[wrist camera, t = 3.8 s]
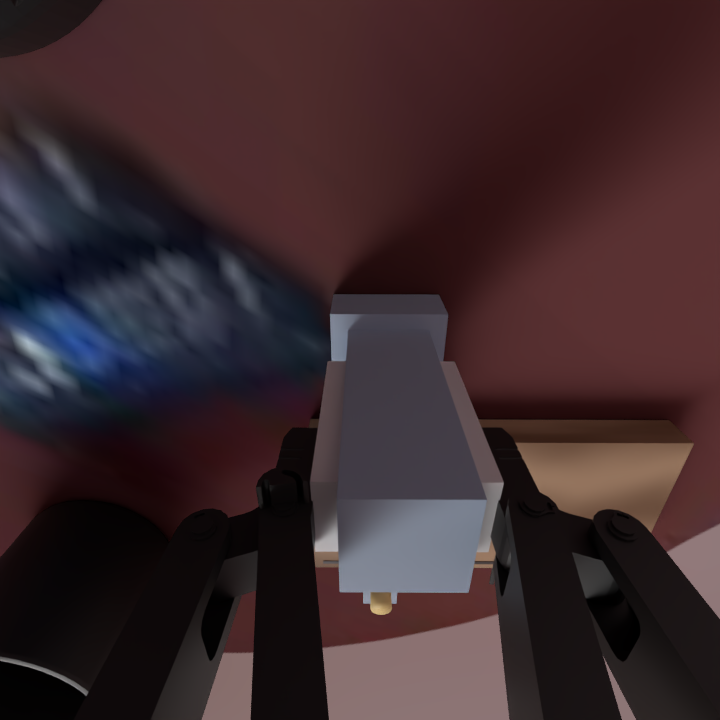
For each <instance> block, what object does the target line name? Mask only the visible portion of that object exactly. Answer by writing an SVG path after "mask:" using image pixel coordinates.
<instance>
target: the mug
mask: <svg viewBox="0 0 720 720" xmlns="http://www.w3.org/2000/svg"><path fill="white" fill-rule="evenodd" d="M168 544H169V543H168V541H167V540H166V538H165V537H164V536H163V534H162V533H161V532H160V531H159V530H158V529H157V528H156V527H155V526H154V525H152V524H151V523H150V522H148V521H147V520H146V519H144V518H142V517H141V516H139V515H137V514H135V513H133V512H131V511H129V510H126V509H124V508H121V507H118V506H115V505H111V504H107V503H102V502H95V501H70V502H65V503H60V504H57V505H55V506H52V507H50V508H48V509H46V510H44V511H43V512H41V513H40V514H38V515H37V516H36V517H35V518H34V519H33V520H32V521H31V522H30V523H29V525H28V526H27V527H26V528H25V529H24V530H23V532H22V533H21V534H20V535H19V536H18V537H17V539H16V540H15V541H14V542H13V543H12V544H11V546H10V547H9V548H8V549H7V550H6V552H5V553H4V554H3V555H2V556H1V557H0V720H74V718H75V716H76V714H77V712H78V710H79V709H80V707H81V705H82V703H83V701H84V699H85V698H86V696H87V694H88V692H89V690H90V688H91V686H92V685H93V683H94V681H95V679H96V677H97V675H98V674H99V672H100V670H101V668H102V666H103V664H104V662H105V661H106V659H107V657H108V655H109V653H110V651H111V649H112V648H113V646H114V644H115V642H116V640H117V638H118V637H119V635H120V633H121V631H122V629H123V627H124V625H125V624H126V622H127V620H128V618H129V616H130V614H131V613H132V611H133V609H134V607H135V605H136V603H137V601H138V600H139V598H140V596H141V594H142V592H143V590H144V589H145V587H146V585H147V583H148V581H149V579H150V577H151V576H152V574H153V572H154V570H155V568H156V566H157V565H158V563H159V561H160V559H161V557H162V555H163V553H164V552H165V550H166V548H167V546H168Z"/></svg>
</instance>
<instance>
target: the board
mask: <svg viewBox="0 0 720 720" xmlns="http://www.w3.org/2000/svg"><path fill="white" fill-rule="evenodd" d="M478 420H479V423H480V425H481V427H502V428H503V429H504V430H505V431H506V432H507V433H508V434H510V435H511V436H512V437H513V439H514V441H515V443H516V445H517V447H518V450H519V451H520V453H521V455H522V459H524V461H525V463H526V465H527V467H528V469H529V472H530V474H531V476H532V478H533V480H534V482H535V484H536V486H537V488H538V490H539V492H540V493H542V494H544V495H546V496H548V497H549V498H550V499H551V500H553V501H554V502H555V503H556V505H557V507H558V509H559V510H561V511H564V512H566V513H569V514H573V515H577V516H581V517H585V518H589V519H593V517H594V515H595V514H596V513H597V512H598V511H601V510H605V509H613V510H619V511H622V512H624V513H627V514H629V515H631V516H633V517H634V518H636V519H638V520H639V521H640V522H641V523H642V524H643V525H644V526H645V527H646V528H647V529H648V530H649V531H650V532H651V531H652V529H653V527H654V525H655V523H656V521H657V519H658V517H659V515H660V513H661V511H662V509H663V507H664V505H665V502H666V500H667V498H668V496H669V494H670V492H671V490H672V488H673V486H674V484H675V482H676V480H677V478H678V476H679V474H680V471H681V469H682V467H683V465H684V463H685V461H686V459H687V457H688V455H689V453H690V451H691V449H692V447H693V445H694V443H693V442H692V441H691V440H690V439H689V438H688V437H687V436H686V435H684V434H683V433H682V432H681V431H680V430H679V429H678V428H677V427H676V426H675V425H674V424H673V423H672V422H671V421H669V420H485V419H478ZM318 424H319V419H310V424H309V428H318ZM314 552H315V546H314ZM495 555H496V552H495V549H494V546H493V543H492V540H491V543H490V548H489V552H477V553H476V558H475V563H474V567H473V568H492V567H493V563H494V559H495ZM315 566H316V567H339V555H338V552H315Z"/></svg>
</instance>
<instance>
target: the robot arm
mask: <svg viewBox="0 0 720 720" xmlns="http://www.w3.org/2000/svg"><path fill="white" fill-rule="evenodd" d="M101 1H102V0H0V58H2V57H9V56H16V55H20V54H24V53H28V52H32V51H34V50H37V49H40V48H43V47H45V46H47V45H49V44H51V43H53V42H55V41H57V40H59V39H60V38H62V37H63V36H65V35H67V34H68V33H70V32H71V31H72V30H73V29H75V28H76V27H77V26H78V25H80V24H81V23H82V22H83V21H84V20H85V19H86V18H87V17H88V16H89V15H90V14H91V13H92V12H93V10H94V9H95V8H96V7H97V6H98V4H99V3H100V2H101ZM440 364H441V367H442V370H443V372H444V375H445V378H446V381H447V384H448V387H449V390H450V393H451V396H452V399H453V402H454V405H455V407H456V410H457V413H458V416H459V419H460V422H461V425H462V428H463V431H464V434H465V437H466V440H467V442H468V445H469V448H470V451H471V454H472V457H473V460H474V463H475V466H476V469H477V472H478V475H479V477H480V480H481V483H482V486H483V489H484V492H485V495H486V498H487V503H486V508H485V513H484V518H483V523H482V528H481V533H480V538H479V543H478V548H477V552H489V548H490V543H491V540H492V543H493V546H494V549H495V552H496V555H495V559H494V563H493V567H492V572H491V576H490V583H489V584H494V580H495V587H496V596H497V606H498V615H499V625H500V634H501V643H502V653H503V662H504V672H505V681H506V690H507V701H508V710H509V719H510V720H622V719H621V716H620V712H619V709H618V705H617V702H616V699H615V695H614V692H613V688H612V685H611V682H610V678H609V675H608V672H607V668H606V665H605V661H604V658H605V660H606V662H607V664H608V666H609V668H610V670H611V672H612V674H613V676H614V678H615V679H616V681H617V683H618V685H619V687H620V689H621V691H622V693H623V695H624V697H625V699H626V701H627V703H628V704H629V706H630V708H631V710H632V712H633V714H634V716H635V718H636V720H720V619H719V618H718V616H717V615H716V614H715V613H714V611H713V610H712V609H711V608H710V607H709V605H708V604H707V603H706V601H705V600H704V599H703V598H702V596H701V595H700V594H699V593H698V591H697V590H696V589H695V588H694V587H693V585H692V584H691V583H690V581H689V580H688V579H687V578H686V577H685V575H684V574H683V573H682V571H681V570H680V569H679V567H678V566H677V565H676V564H675V563H674V561H673V560H672V559H671V558H670V556H669V555H668V554H667V552H666V551H665V550H664V549H663V547H662V546H661V545H660V544H659V542H658V541H657V540H656V539H655V537H654V536H653V535H652V534H651V532H650V531H649V530H648V529H647V528H646V527H645V526H644V525H643V524H642V523H641V522H640V521H639V520H638V519H636V518H634V517H633V516H631V515H629V514H627V513H624V512H622V511H619V510H613V509H605V510H601V511H598V512H597V513H596V514H595V515H594V517H593V519H589V518H585V517H581V516H577V515H573V514H569V513H566V512H564V511H561V510H559V509H558V507H557V505H556V503H555V502H554V501H553V500H551V499H550V498H549V497H548V496H546V495H544V494H542V493H540V492H539V490H538V488H537V486H536V484H535V482H534V480H533V478H532V476H531V474H530V472H529V469H528V467H527V465H526V463H525V461H524V459H522V455H521V453H520V451H519V450H518V447H517V445H516V443H515V441H514V439H513V437H512V436H511V435H510V434H508V433H507V432H506V431H505V430H504V429H503V428H502V427H481V425H480V423H479V420H478V418H477V415H476V413H475V410H474V408H473V405H472V403H471V400H470V398H469V395H468V393H467V391H466V388H465V386H464V383H463V381H462V378H461V376H460V373H459V371H458V368H457V366H456V364H455V362H442V361H440ZM345 368H346V361H328V363H327V370H326V377H325V383H324V390H323V397H322V404H321V411H320V417H319V424H318V428H292V429H291V430H290V431H289V432H288V433H287V434H286V435H285V437H284V439H283V442H282V446H281V450H280V454H279V460H278V462H277V466H276V468H274V469H271V470H270V471H268V472H266V473H264V474H263V475H262V477H261V478H260V479H259V480H258V483H257V486H256V491H257V497H258V503H259V507H258V508H256V509H254V510H253V511H250V512H248V513H245V514H242V515H238V516H234V517H230V518H228V517H227V515H226V514H225V513H223V512H222V511H221V510H216V509H203V510H200V511H197V512H195V513H192V514H191V515H190V516H188V517H187V518H185V519H184V520H183V521H182V522H181V524H180V525H179V526H178V528H177V529H176V531H175V533H174V535H173V537H172V539H171V540H170V542H169V544H168V546H167V548H166V550H165V552H164V553H163V555H162V557H161V559H160V561H159V563H158V565H157V566H156V568H155V570H154V572H153V574H152V576H151V577H150V579H149V581H148V583H147V585H146V587H145V589H144V590H143V592H142V594H141V596H140V598H139V600H138V601H137V603H136V605H135V607H134V609H133V611H132V613H131V614H130V616H129V618H128V620H127V622H126V624H125V625H124V627H123V629H122V631H121V633H120V635H119V637H118V638H117V640H116V642H115V644H114V646H113V648H112V649H111V651H110V653H109V655H108V657H107V659H106V661H105V662H104V664H103V666H102V668H101V670H100V672H99V674H98V675H97V677H96V679H95V681H94V683H93V685H92V686H91V688H90V690H89V692H88V694H87V696H86V698H85V699H84V701H83V703H82V705H81V707H80V709H79V710H78V712H77V714H76V716H75V718H74V720H201V719H202V716H203V713H204V710H205V707H206V704H207V700H208V698H209V695H210V691H211V688H212V685H213V682H214V679H215V676H216V673H217V670H218V667H219V664H220V661H221V658H222V654H223V651H224V648H225V645H226V642H227V639H228V636H229V633H230V630H231V627H232V624H233V620H234V617H235V614H236V611H237V608H238V605H239V602H240V599H241V596H242V595H243V594H246V593H249V592H252V591H256V606H255V630H254V653H253V677H252V701H251V720H329V716H328V705H327V694H326V683H325V672H324V661H323V650H322V639H321V628H320V617H319V606H318V595H317V584H316V573H315V562H314V546H315V552H338V526H337V486H338V471H339V456H340V442H341V427H342V412H343V398H344V383H345ZM602 654H603V655H602ZM603 656H604V658H603Z"/></svg>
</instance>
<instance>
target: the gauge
mask: <svg viewBox="0 0 720 720" xmlns="http://www.w3.org/2000/svg"><path fill="white" fill-rule="evenodd" d="M447 322H448V313H447V311H446V309H445V306H444V304H443V302H442V300H441V298H440V296H439V295H428V294H334V295H333V301H332V306H331V312H330V324H331V353H332V361H346V368H345V383H344V398H343V412H342V427H341V442H340V456H339V471H338V486H337V526H338V555H339V584H340V592H363V603H371V611H372V612H373V613H375V614H378V615H384V614H387V613H389V612H391V610H392V604H396V602H397V592H430V593H468V592H469V587H470V582H471V577H472V572H473V567H474V563H475V558H476V553H477V548H478V543H479V538H480V533H481V528H482V523H483V518H484V513H485V508H486V503H487V498H486V495H485V492H484V489H483V486H482V483H481V480H480V477H479V475H478V472H477V469H476V466H475V463H474V460H473V457H472V454H471V451H470V448H469V445H468V442H467V440H466V437H465V434H464V431H463V428H462V425H461V422H460V419H459V416H458V413H457V410H456V407H455V405H454V402H453V399H452V396H451V393H450V390H449V387H448V384H447V381H446V378H445V375H444V372H443V370H442V367H441V364H440V361H442V362H443V359H444V350H445V341H446V331H447Z"/></svg>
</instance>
